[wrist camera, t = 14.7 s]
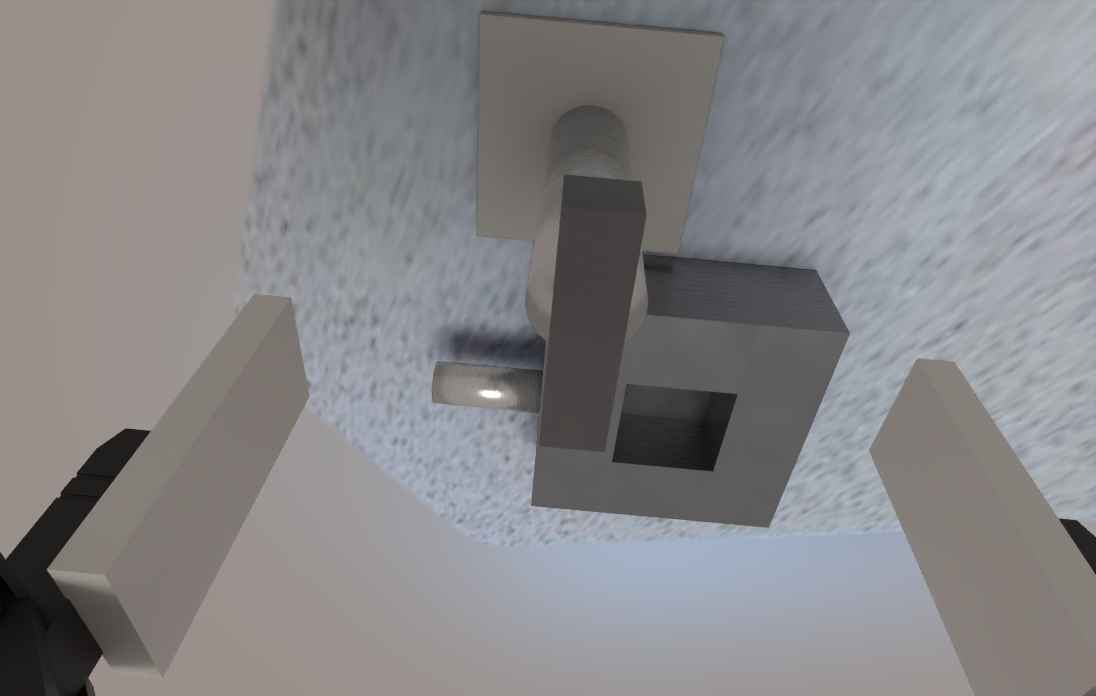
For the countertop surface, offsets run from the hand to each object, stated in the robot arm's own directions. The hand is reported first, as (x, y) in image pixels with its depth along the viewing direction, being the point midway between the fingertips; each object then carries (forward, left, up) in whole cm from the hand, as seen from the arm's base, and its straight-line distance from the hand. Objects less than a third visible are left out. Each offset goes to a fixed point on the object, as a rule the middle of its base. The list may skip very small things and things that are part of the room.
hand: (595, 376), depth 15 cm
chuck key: (0, 0, -16) cm, 15 cm away
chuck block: (+11, +2, -16) cm, 20 cm away
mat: (0, 0, -16) cm, 16 cm away
